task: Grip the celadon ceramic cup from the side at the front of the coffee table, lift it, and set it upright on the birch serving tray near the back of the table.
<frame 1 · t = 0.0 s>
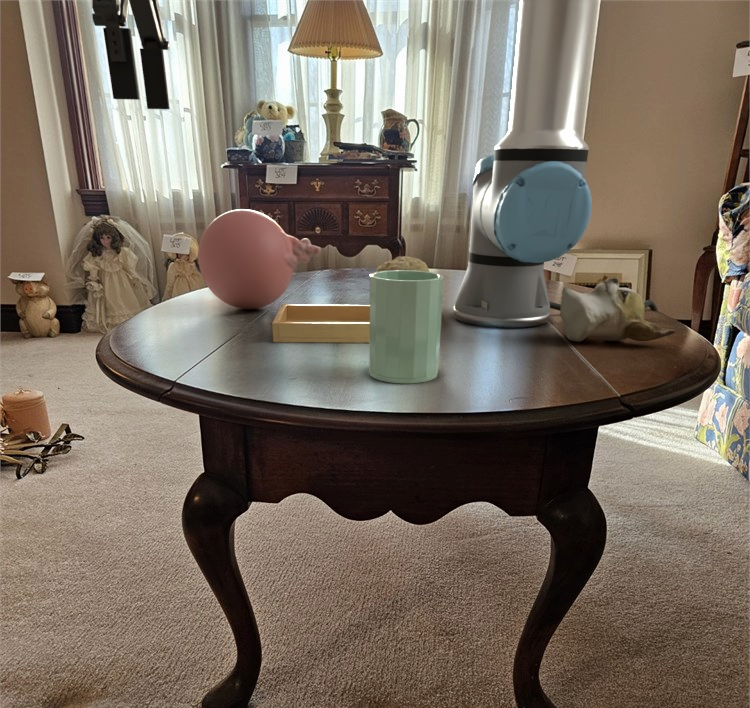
hand: (143, 104, 79), 28 cm above the table, tool pointing down, fingers open, 13 cm apart
tray: (338, 331, 96), on the table
coral: (402, 304, 117), on the table
cup: (403, 373, 76), on the table
balloon: (263, 310, 111), on the table
ceramic sculpture: (605, 341, 93), on the table
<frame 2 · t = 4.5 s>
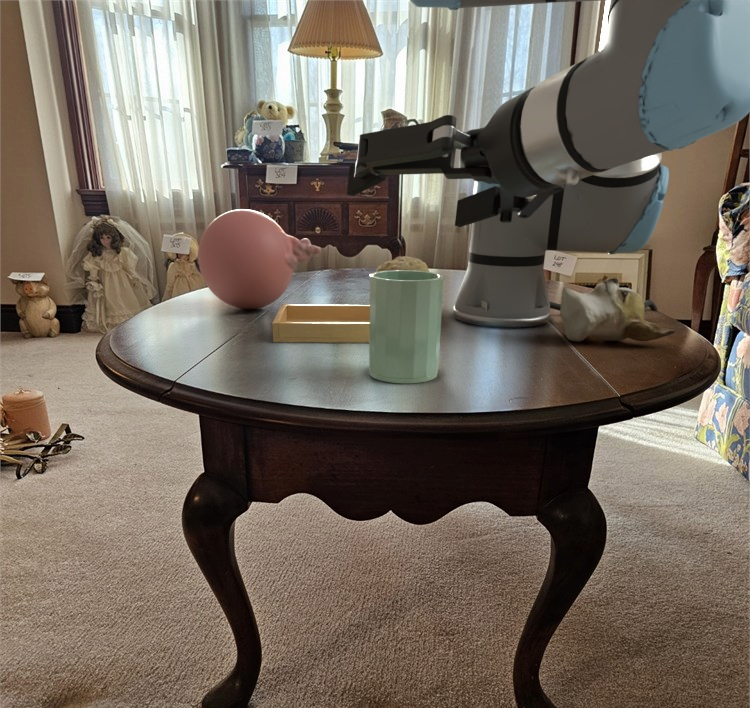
hand: (407, 198, 70), 19 cm above the table, tool horizontal, fingers open, 13 cm apart
nothing on the table moved.
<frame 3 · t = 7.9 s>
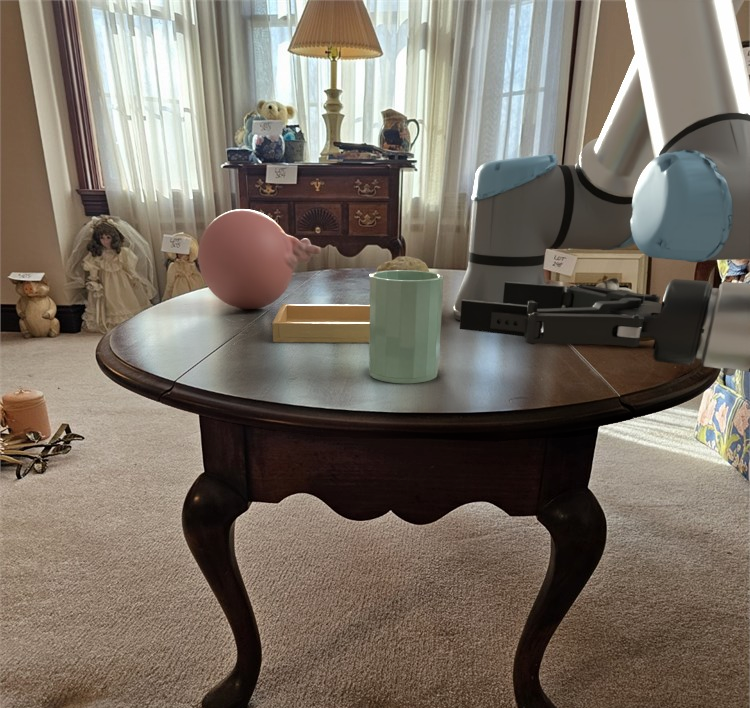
hand: (484, 303, 69), 9 cm above the table, tool horizontal, fingers open, 13 cm apart
nothing on the table moved.
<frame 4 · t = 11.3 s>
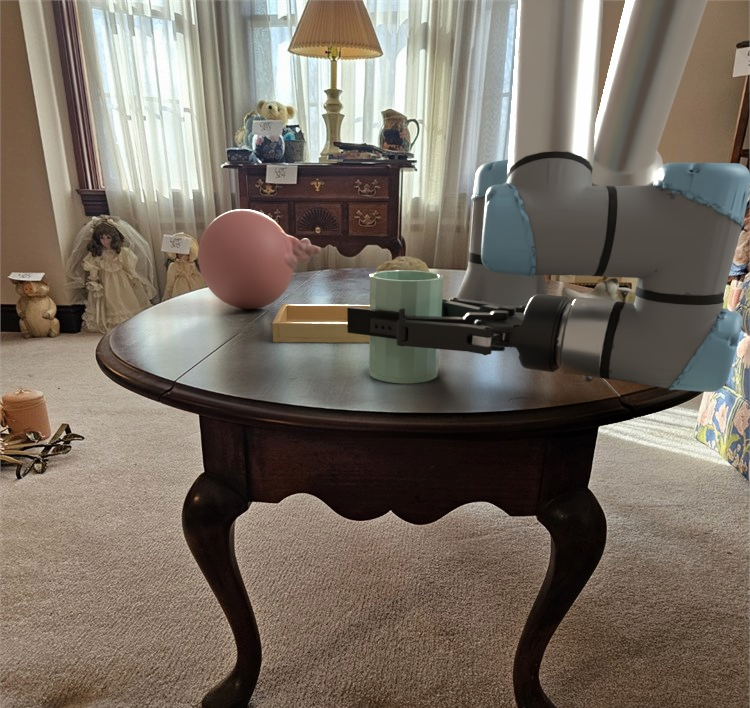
hand: (368, 312, 75), 6 cm above the table, tool horizontal, fingers closed on cup, 8 cm apart
cup: (403, 373, 76), on the table, touching gripper
everything else where it was.
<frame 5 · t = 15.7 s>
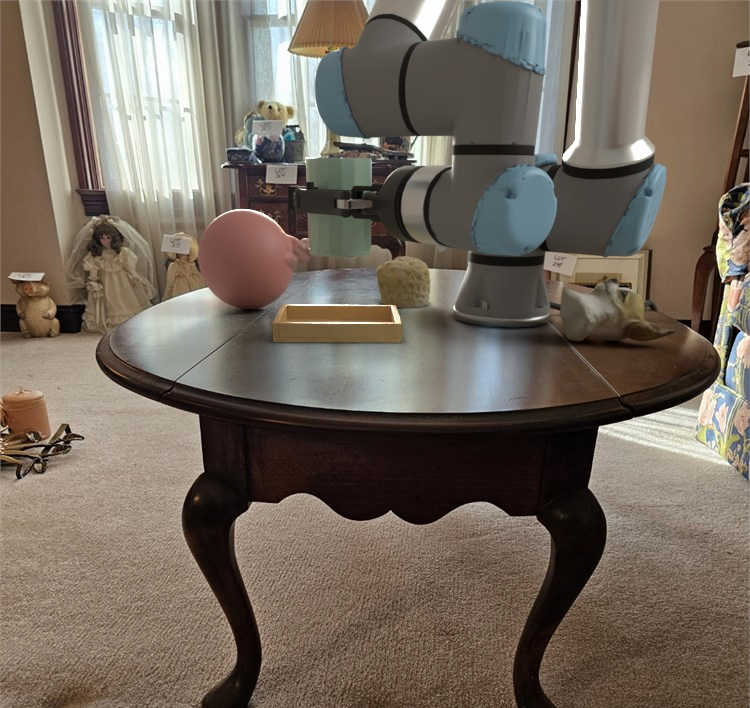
hand: (321, 197, 86), 18 cm above the table, tool horizontal, fingers closed on cup, 8 cm apart
cup: (340, 253, 85), point 11 cm above the table, touching gripper
everything else where it was.
when the fingers open (7 cm above the table, at t = 20.1 s): cup stays where it is, resting on tray.
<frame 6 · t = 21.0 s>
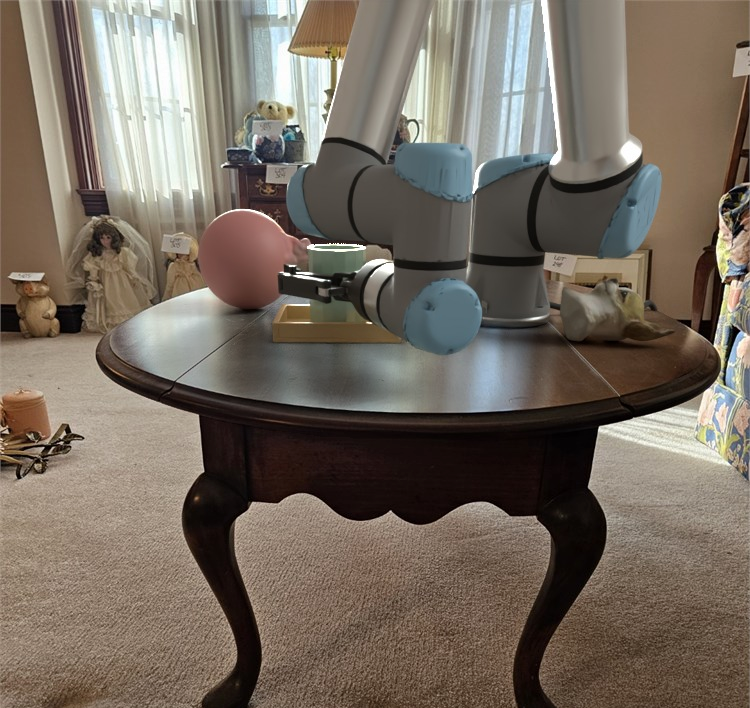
hand: (332, 271, 94), 8 cm above the table, tool horizontal, fingers open, 13 cm apart
cup: (337, 327, 95), point 1 cm above the table, touching tray
everything else where it was.
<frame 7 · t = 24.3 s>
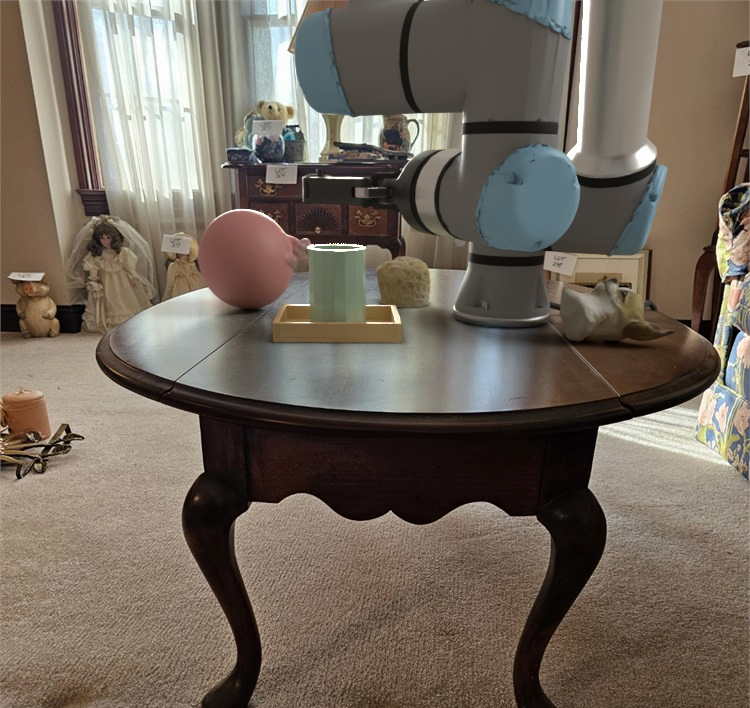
hand: (363, 186, 79), 19 cm above the table, tool horizontal, fingers open, 13 cm apart
nothing on the table moved.
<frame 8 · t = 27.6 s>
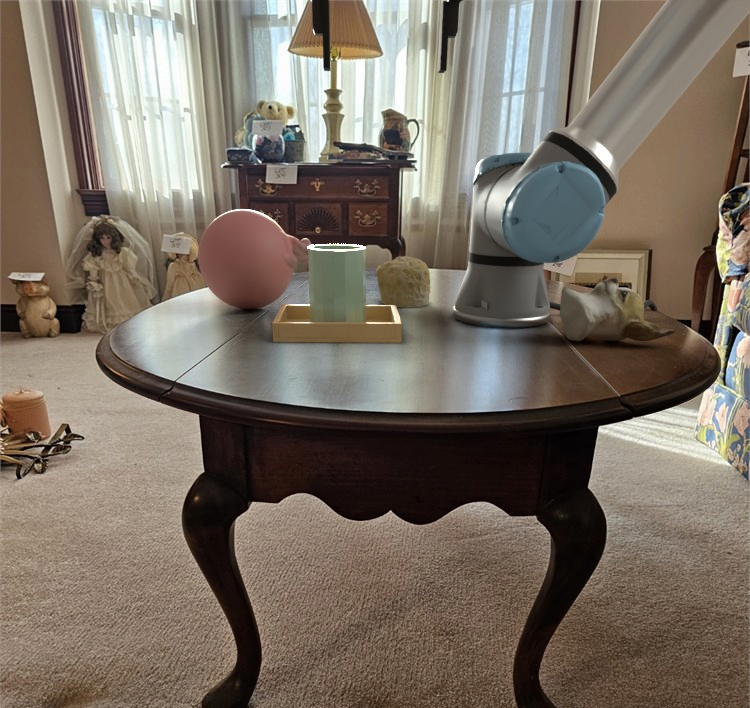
hand: (384, 71, 77), 32 cm above the table, tool pointing down, fingers open, 13 cm apart
nothing on the table moved.
at the end: cup inside the target area in the tray (0.1 cm from its centre), point 0.6 cm above the tray's base; cup tilted 0° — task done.
